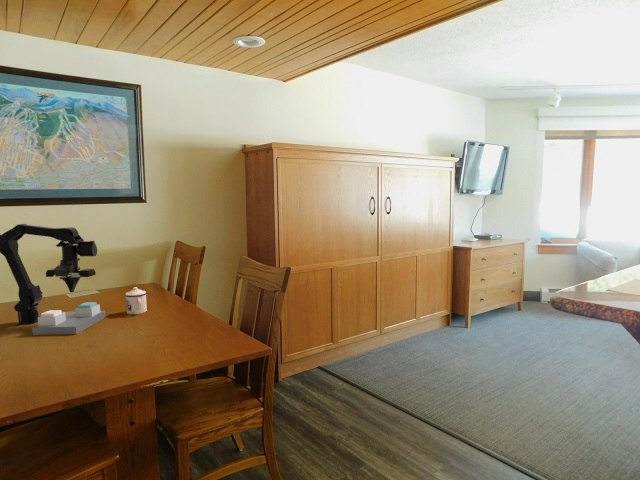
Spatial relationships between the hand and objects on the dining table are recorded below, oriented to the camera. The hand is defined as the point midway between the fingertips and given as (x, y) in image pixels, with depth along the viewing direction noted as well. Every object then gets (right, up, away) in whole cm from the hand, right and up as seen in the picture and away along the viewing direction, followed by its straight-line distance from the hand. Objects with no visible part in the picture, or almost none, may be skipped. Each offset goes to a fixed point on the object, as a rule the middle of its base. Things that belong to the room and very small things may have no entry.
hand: (71, 292), depth 182 cm
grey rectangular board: (+4, -13, -7) cm, 15 cm away
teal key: (+8, -8, -1) cm, 11 cm away
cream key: (0, -9, -13) cm, 16 cm away
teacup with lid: (+24, -11, +11) cm, 29 cm away
